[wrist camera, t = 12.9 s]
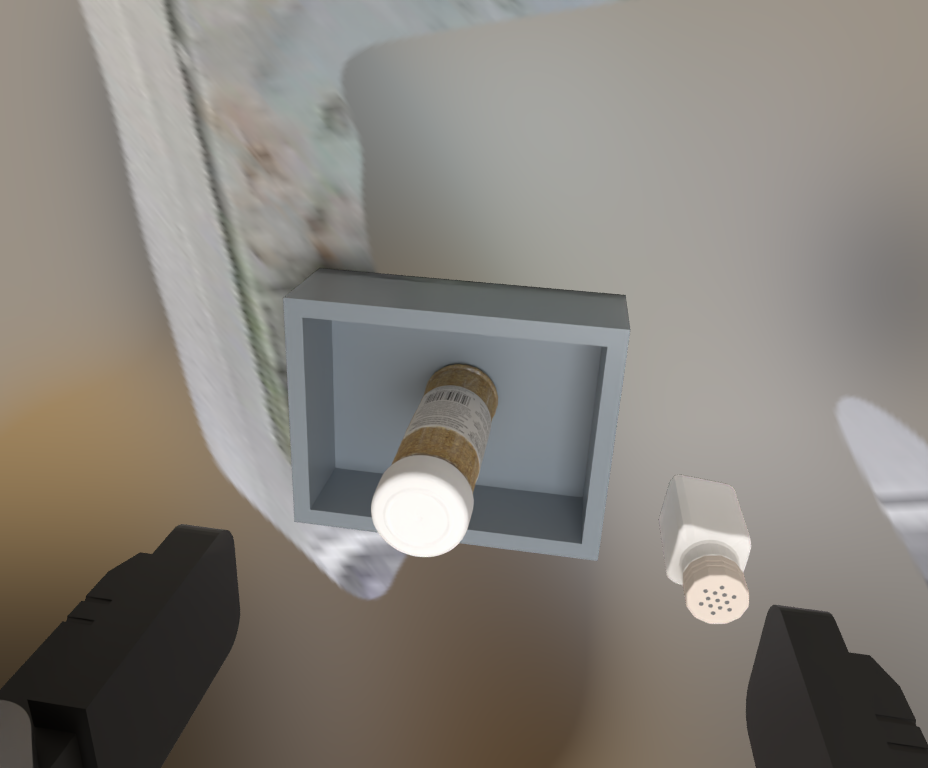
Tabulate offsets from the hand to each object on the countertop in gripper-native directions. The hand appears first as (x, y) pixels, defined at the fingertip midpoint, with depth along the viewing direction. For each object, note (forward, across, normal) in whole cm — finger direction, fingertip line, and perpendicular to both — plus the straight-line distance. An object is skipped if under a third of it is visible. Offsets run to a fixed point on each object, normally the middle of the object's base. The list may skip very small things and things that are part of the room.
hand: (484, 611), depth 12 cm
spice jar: (+33, +5, +12) cm, 36 cm away
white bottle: (+34, -10, +18) cm, 40 cm away
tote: (+34, +5, +12) cm, 36 cm away
